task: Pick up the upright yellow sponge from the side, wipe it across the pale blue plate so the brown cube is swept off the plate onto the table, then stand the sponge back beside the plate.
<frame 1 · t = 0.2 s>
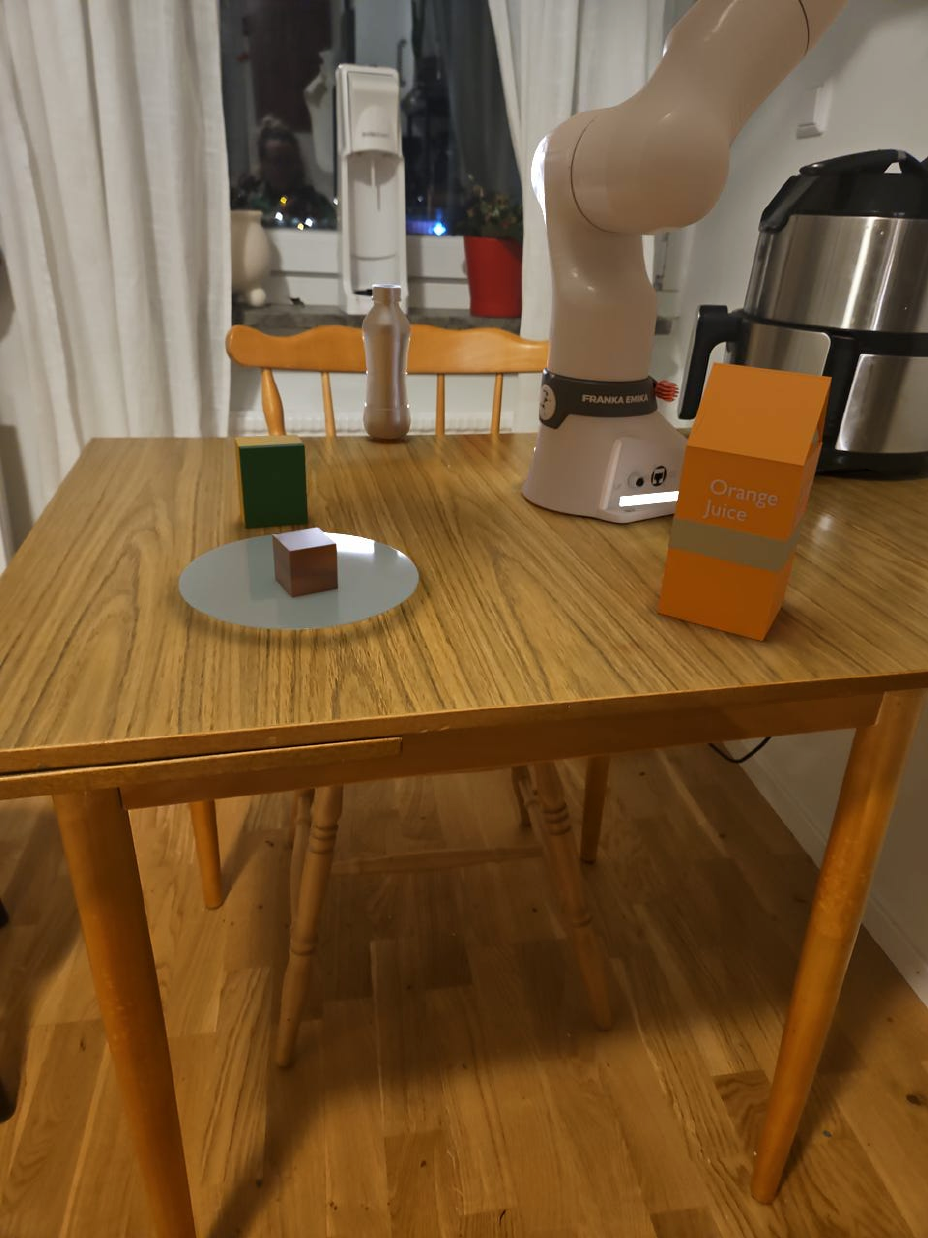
sponge: (274, 530, 81), on the table
plate: (302, 587, 69), on the table
brown cube: (306, 583, 67), point 1 cm above the table, touching plate
plastic bottle: (386, 439, 115), on the table
orange juice: (719, 612, 69), on the table
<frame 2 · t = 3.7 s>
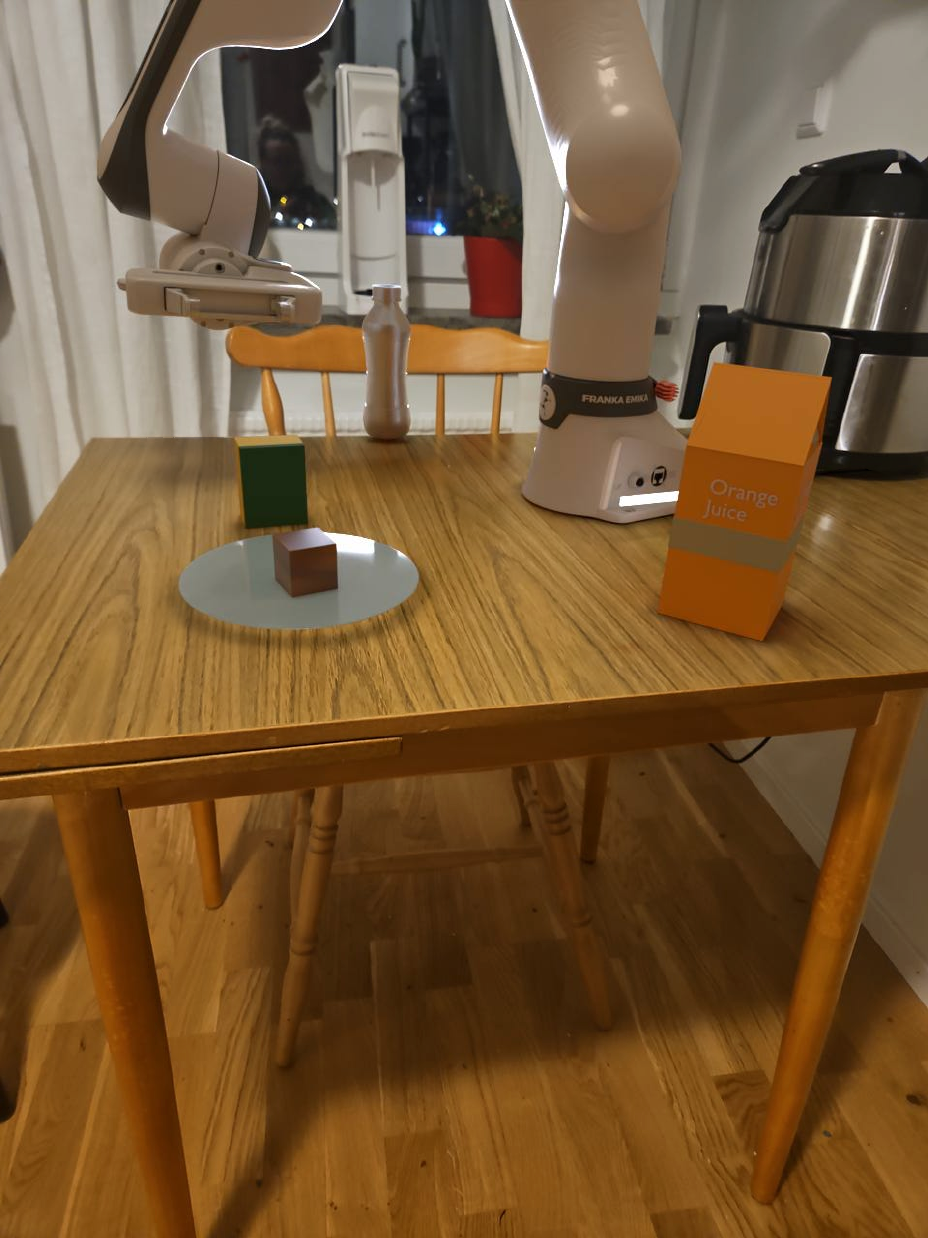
hand: (241, 311, 81), 19 cm above the table, tool horizontal, fingers open, 8 cm apart
nothing on the table moved.
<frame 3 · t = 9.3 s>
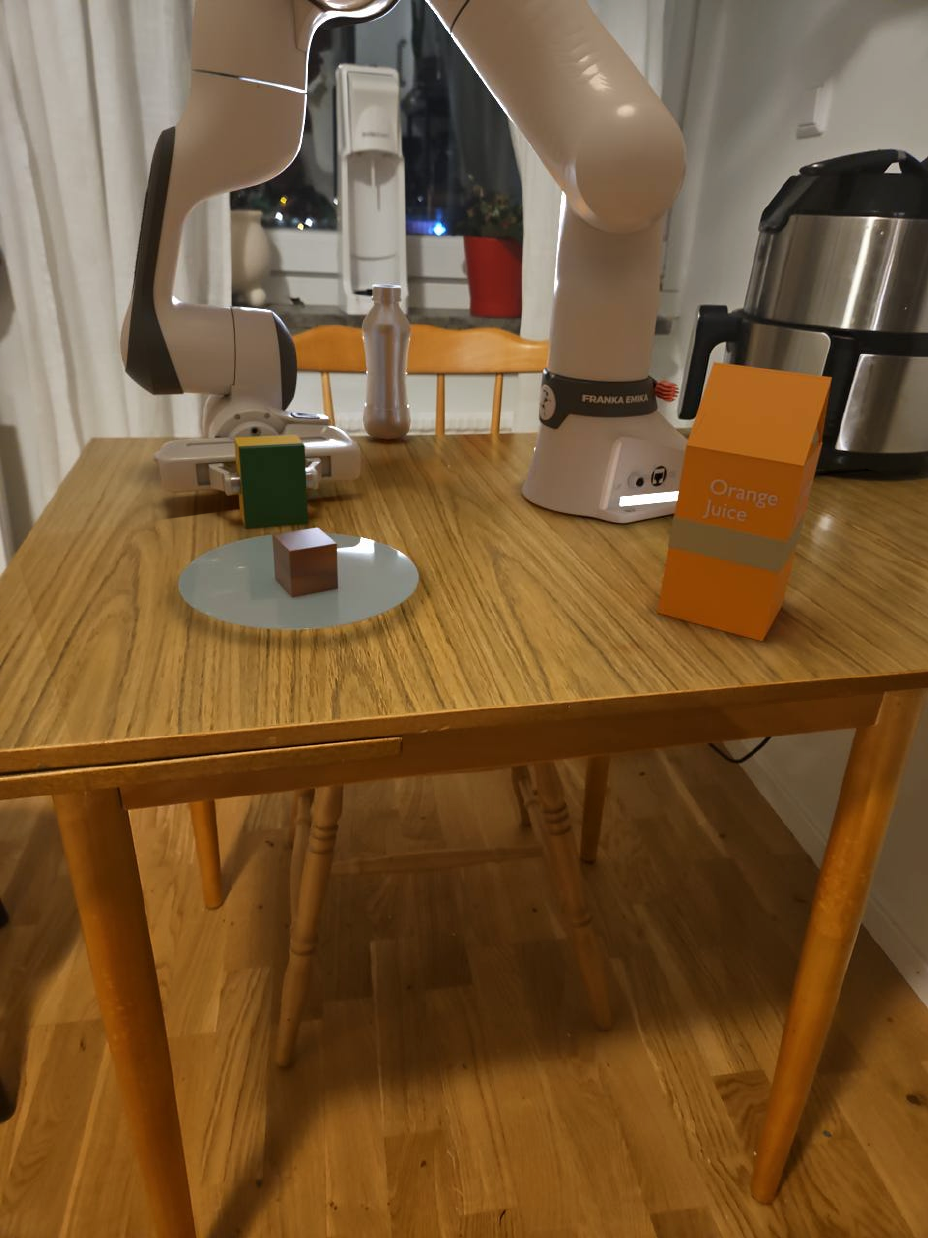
hand: (273, 484, 78), 5 cm above the table, tool horizontal, fingers closed on sponge, 6 cm apart
sponge: (274, 530, 81), on the table, touching gripper
everything else where it was.
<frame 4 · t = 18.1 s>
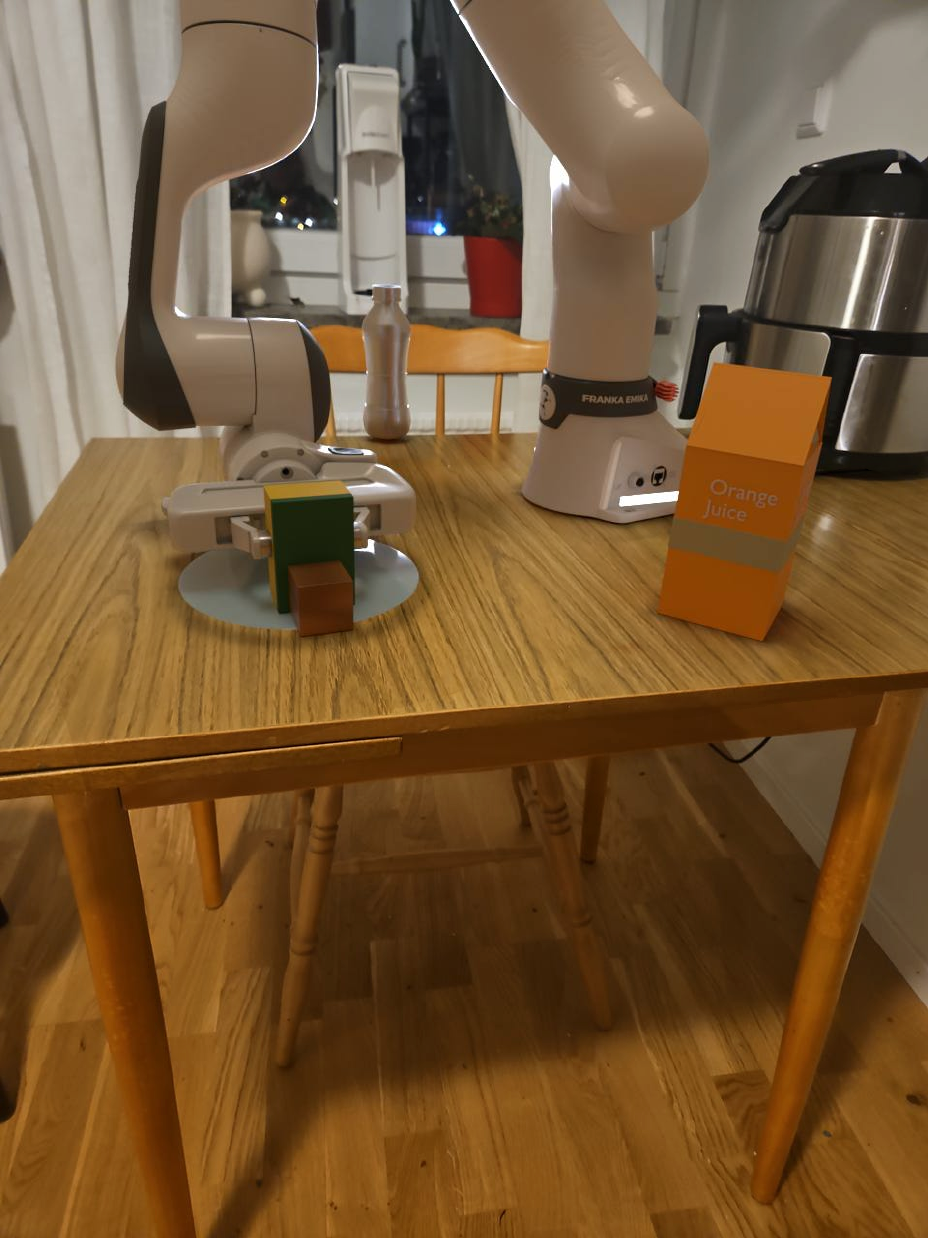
hand: (313, 544, 62), 6 cm above the table, tool horizontal, fingers closed on sponge, 6 cm apart
sponge: (312, 598, 65), point 1 cm above the table, touching gripper, plate
brown cube: (321, 621, 61), point 1 cm above the table
everything else where it was.
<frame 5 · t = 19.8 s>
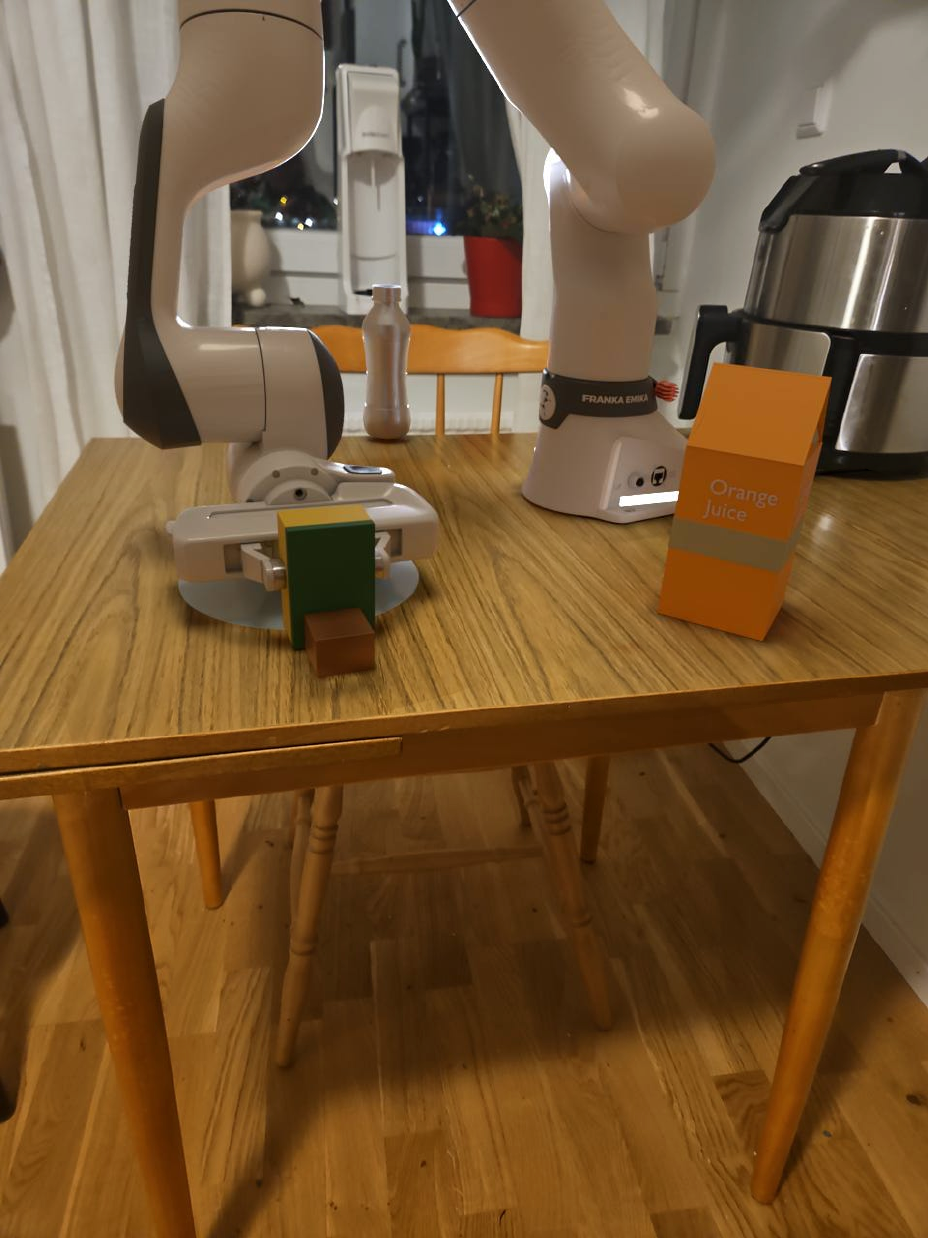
hand: (330, 575, 57), 6 cm above the table, tool horizontal, fingers closed on sponge, 6 cm apart
sponge: (328, 631, 60), point 1 cm above the table, touching brown cube, gripper
brown cube: (339, 673, 57), on the table, touching sponge
everything else where it was.
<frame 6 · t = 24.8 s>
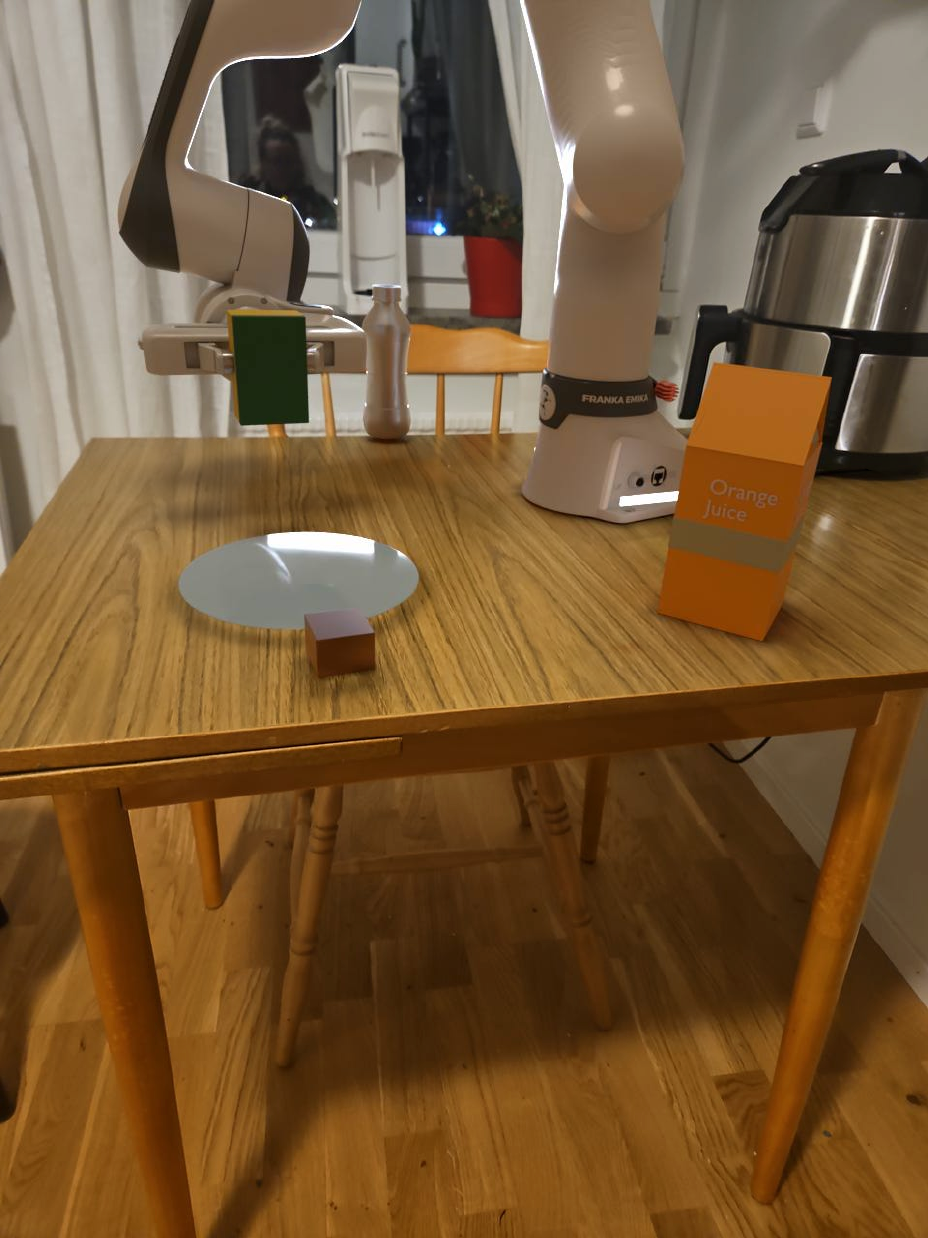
hand: (270, 363, 70), 17 cm above the table, tool horizontal, fingers closed on sponge, 6 cm apart
sponge: (271, 418, 73), point 12 cm above the table, touching gripper
brown cube: (340, 673, 57), on the table
everything else where it was.
when the fingers open (5 cm above the table, at t = 28.9 s): sponge stays where it is, on the table.
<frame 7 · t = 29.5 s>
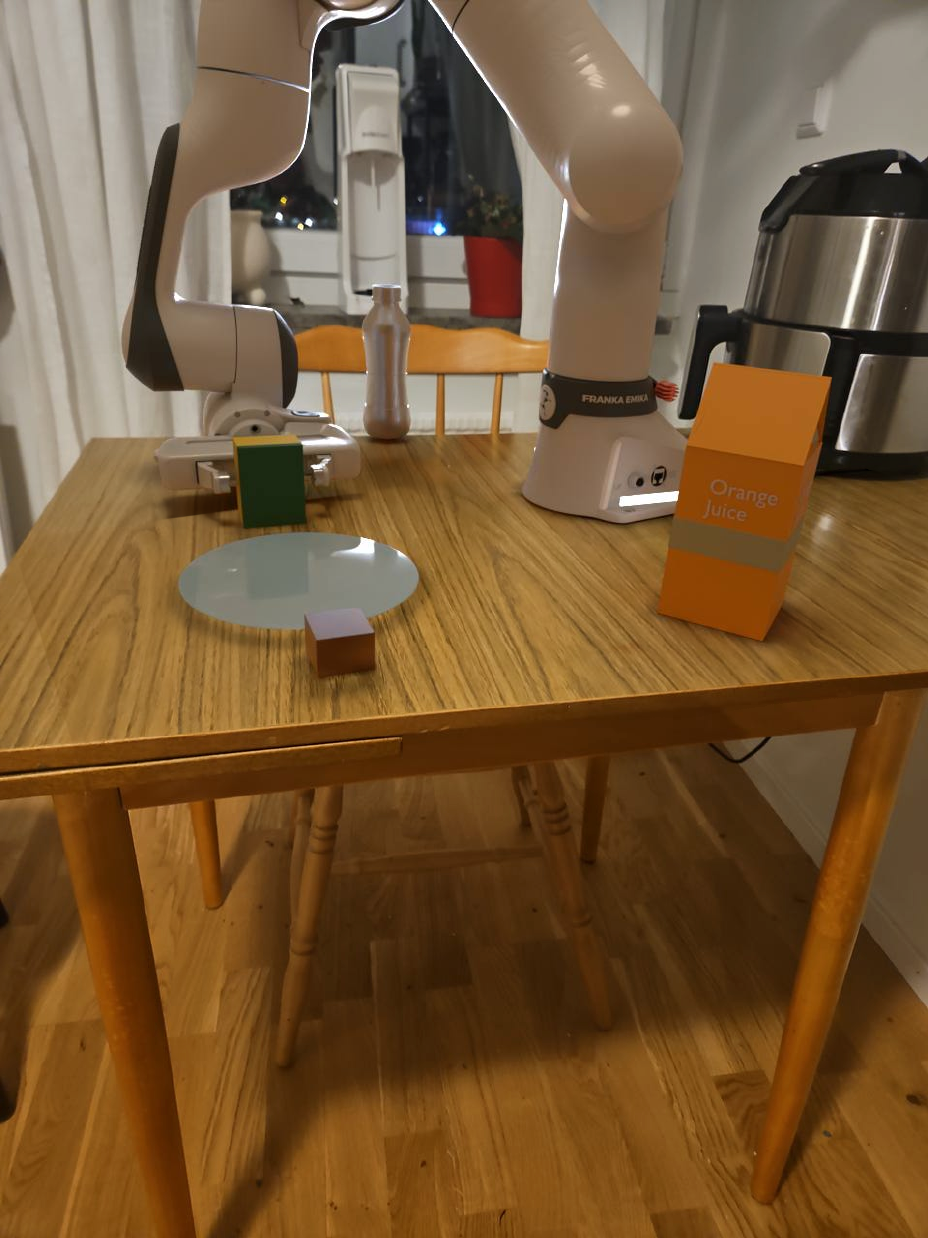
hand: (273, 482, 78), 5 cm above the table, tool horizontal, fingers open, 8 cm apart
sponge: (272, 529, 81), on the table
everything else where it was.
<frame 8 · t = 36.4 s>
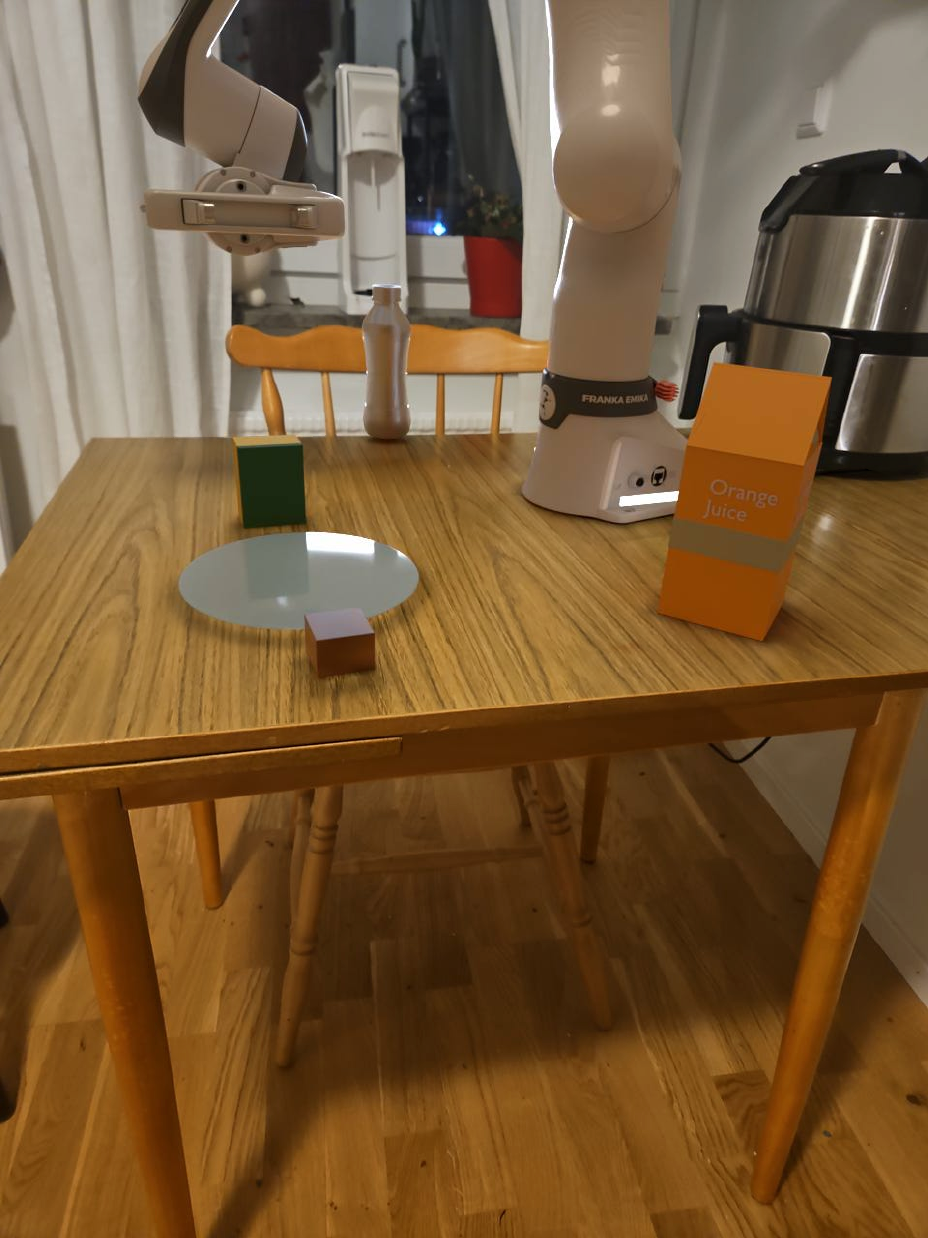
hand: (257, 215, 79), 28 cm above the table, tool horizontal, fingers open, 8 cm apart
nothing on the table moved.
at the end: brown cube inside the target area (2.4 cm from its centre), on the table; sponge inside the target area (0.4 cm from its centre), on the table; sponge tilted 0° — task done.
